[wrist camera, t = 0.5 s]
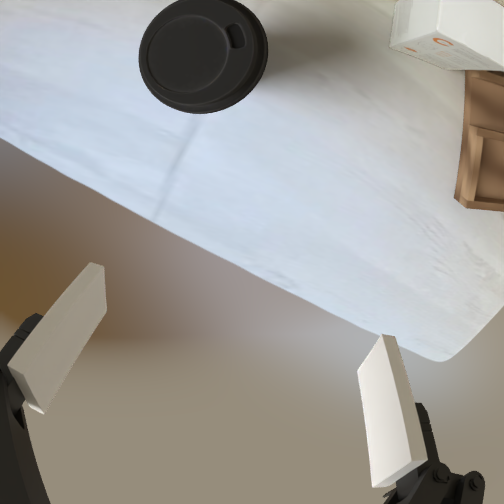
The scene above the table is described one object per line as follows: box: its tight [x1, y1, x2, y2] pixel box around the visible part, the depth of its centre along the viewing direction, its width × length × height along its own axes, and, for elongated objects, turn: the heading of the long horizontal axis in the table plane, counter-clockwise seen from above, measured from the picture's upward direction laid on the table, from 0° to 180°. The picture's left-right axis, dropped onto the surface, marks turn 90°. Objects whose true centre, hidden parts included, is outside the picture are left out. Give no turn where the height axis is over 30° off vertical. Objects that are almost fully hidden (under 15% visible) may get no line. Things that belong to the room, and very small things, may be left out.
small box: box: [389, 0, 504, 71], centre depth 20 cm, size 8×6×13 cm
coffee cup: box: [139, 0, 268, 114], centre depth 24 cm, size 9×9×15 cm
